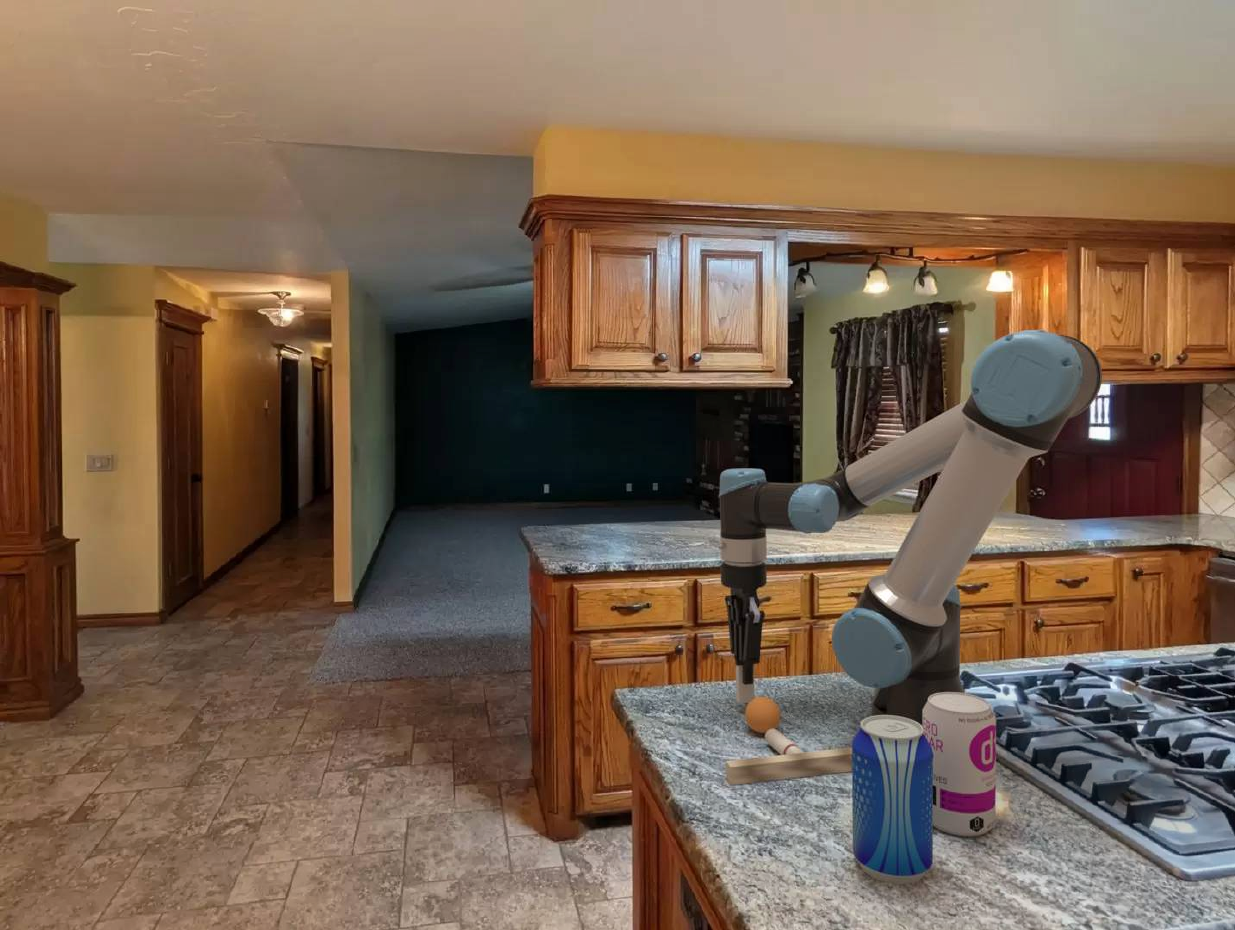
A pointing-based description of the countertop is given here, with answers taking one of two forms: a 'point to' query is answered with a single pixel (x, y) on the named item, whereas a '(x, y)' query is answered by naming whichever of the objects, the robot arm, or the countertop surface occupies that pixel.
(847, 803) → the countertop surface
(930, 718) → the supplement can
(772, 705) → the ball
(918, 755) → the beer can
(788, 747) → the pin
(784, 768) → the bar
